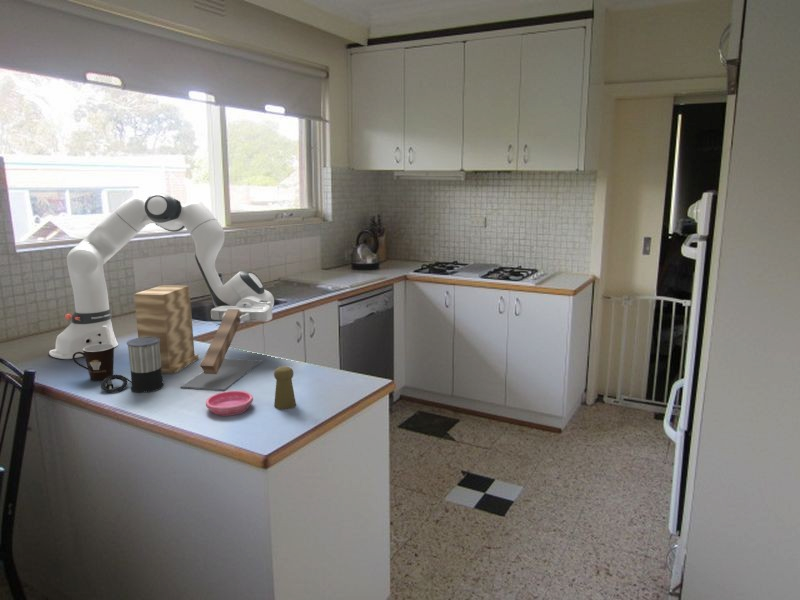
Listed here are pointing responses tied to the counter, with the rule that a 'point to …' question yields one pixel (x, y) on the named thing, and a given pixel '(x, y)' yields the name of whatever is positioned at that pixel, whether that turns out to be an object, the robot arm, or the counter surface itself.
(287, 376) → the cork
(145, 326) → the oak block
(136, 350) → the milk frother
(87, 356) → the coffee mug
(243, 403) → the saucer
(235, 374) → the rubber mat
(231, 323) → the walnut bar
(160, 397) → the counter surface
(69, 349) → the robot arm
